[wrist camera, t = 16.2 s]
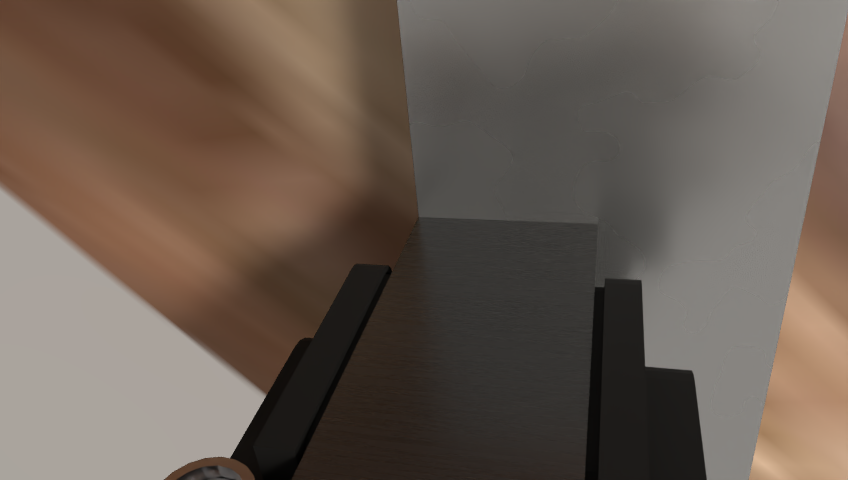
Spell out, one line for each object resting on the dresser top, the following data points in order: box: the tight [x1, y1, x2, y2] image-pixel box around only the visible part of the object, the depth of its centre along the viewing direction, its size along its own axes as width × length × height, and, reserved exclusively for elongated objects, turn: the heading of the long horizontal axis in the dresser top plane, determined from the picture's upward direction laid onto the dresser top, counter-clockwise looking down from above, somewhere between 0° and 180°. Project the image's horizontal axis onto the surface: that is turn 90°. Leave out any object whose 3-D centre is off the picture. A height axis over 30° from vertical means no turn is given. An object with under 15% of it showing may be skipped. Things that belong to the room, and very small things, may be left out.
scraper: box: [292, 0, 848, 480], centre depth 9 cm, size 6×14×9 cm, turn 6°
